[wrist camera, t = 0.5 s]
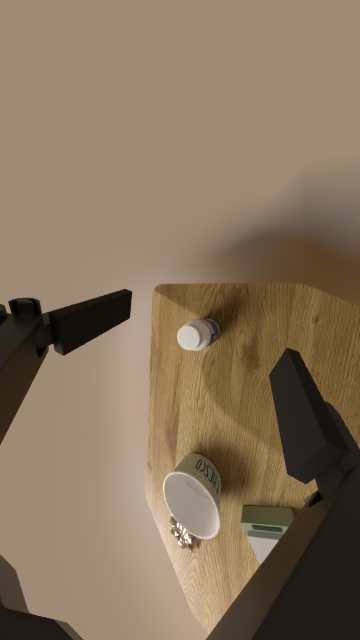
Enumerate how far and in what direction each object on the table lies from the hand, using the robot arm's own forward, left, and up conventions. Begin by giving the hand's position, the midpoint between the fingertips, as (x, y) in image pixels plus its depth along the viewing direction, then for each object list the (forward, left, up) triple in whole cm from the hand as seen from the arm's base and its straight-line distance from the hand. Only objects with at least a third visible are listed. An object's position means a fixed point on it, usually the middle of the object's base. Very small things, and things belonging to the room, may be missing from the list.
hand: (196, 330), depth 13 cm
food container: (+23, +28, -20) cm, 41 cm away
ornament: (+33, +39, -20) cm, 55 cm away
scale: (+12, +38, -20) cm, 45 cm away
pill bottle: (+6, 0, -20) cm, 21 cm away
